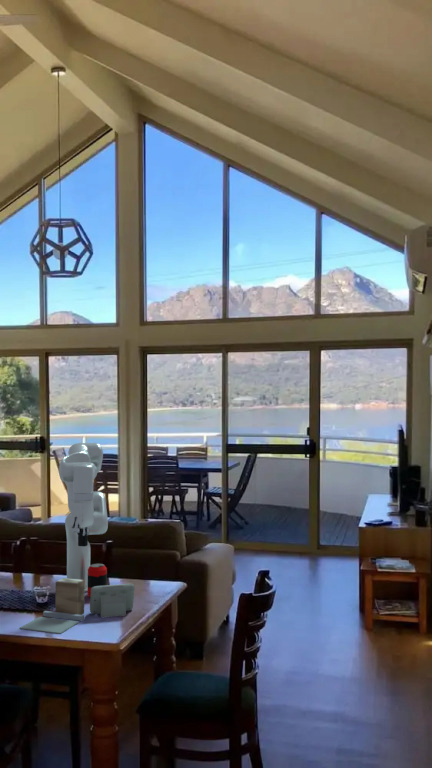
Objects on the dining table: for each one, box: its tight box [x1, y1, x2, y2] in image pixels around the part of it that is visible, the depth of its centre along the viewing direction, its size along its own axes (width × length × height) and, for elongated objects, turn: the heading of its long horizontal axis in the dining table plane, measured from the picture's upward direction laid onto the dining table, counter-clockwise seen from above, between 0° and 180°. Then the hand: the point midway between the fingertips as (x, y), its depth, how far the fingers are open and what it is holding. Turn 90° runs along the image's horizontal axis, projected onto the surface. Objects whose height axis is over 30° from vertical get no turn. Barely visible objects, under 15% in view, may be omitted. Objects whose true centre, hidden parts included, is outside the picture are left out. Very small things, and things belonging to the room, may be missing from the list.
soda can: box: [87, 563, 108, 598], centre depth 261 cm, size 8×8×12 cm
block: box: [54, 577, 85, 615], centre depth 237 cm, size 5×9×12 cm, turn 71°
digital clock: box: [89, 583, 135, 618], centre depth 238 cm, size 16×9×11 cm, turn 95°
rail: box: [42, 610, 85, 622], centre depth 233 cm, size 2×16×2 cm, turn 71°
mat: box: [19, 616, 80, 635], centre depth 225 cm, size 12×16×1 cm
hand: (82, 545), depth 246 cm, fingers closed
